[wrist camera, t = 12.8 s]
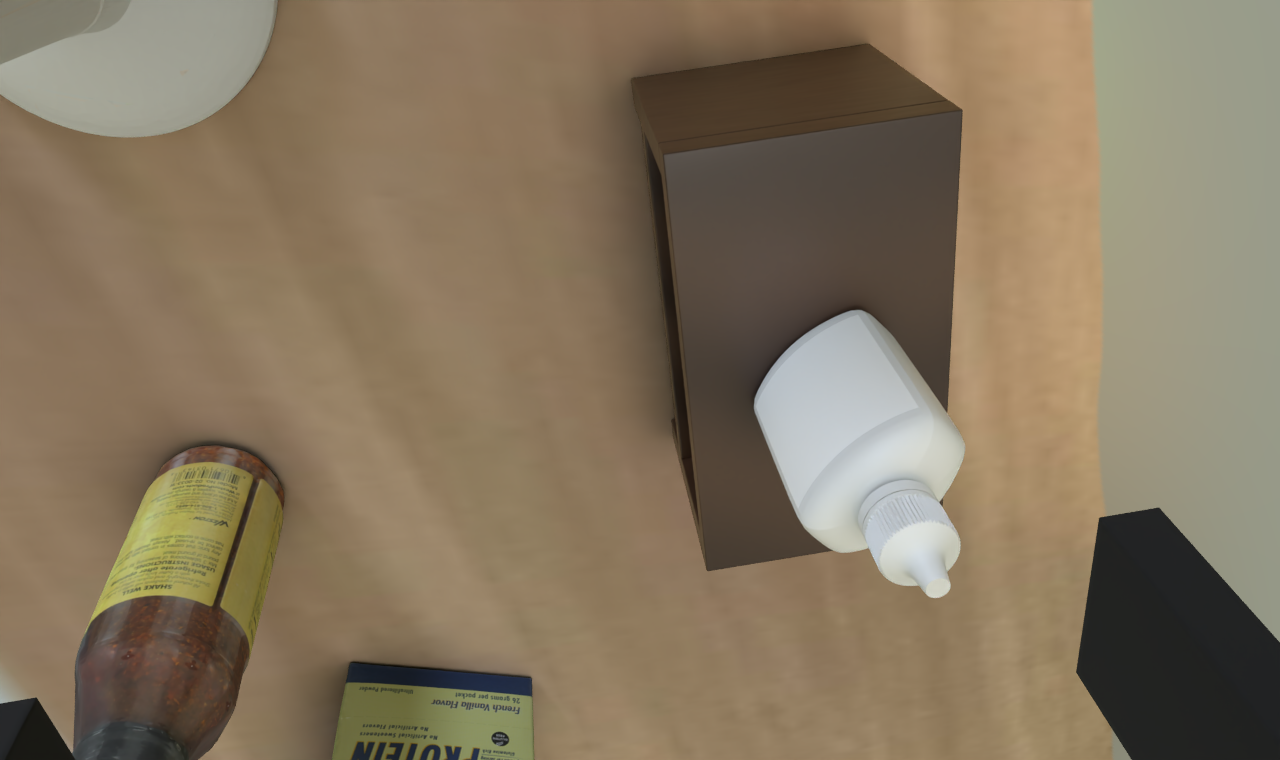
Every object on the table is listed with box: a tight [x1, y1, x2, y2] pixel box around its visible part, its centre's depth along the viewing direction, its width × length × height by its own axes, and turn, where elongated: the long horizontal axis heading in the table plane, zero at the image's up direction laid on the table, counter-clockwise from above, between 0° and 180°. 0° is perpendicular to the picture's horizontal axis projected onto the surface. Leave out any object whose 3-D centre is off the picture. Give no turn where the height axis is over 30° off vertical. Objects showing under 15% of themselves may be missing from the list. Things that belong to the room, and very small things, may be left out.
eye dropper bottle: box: [754, 310, 965, 598], centre depth 32 cm, size 4×6×12 cm
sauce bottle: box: [72, 445, 284, 760], centre depth 41 cm, size 6×6×20 cm
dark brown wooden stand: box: [631, 44, 963, 571], centre depth 42 cm, size 18×10×10 cm, turn 6°
